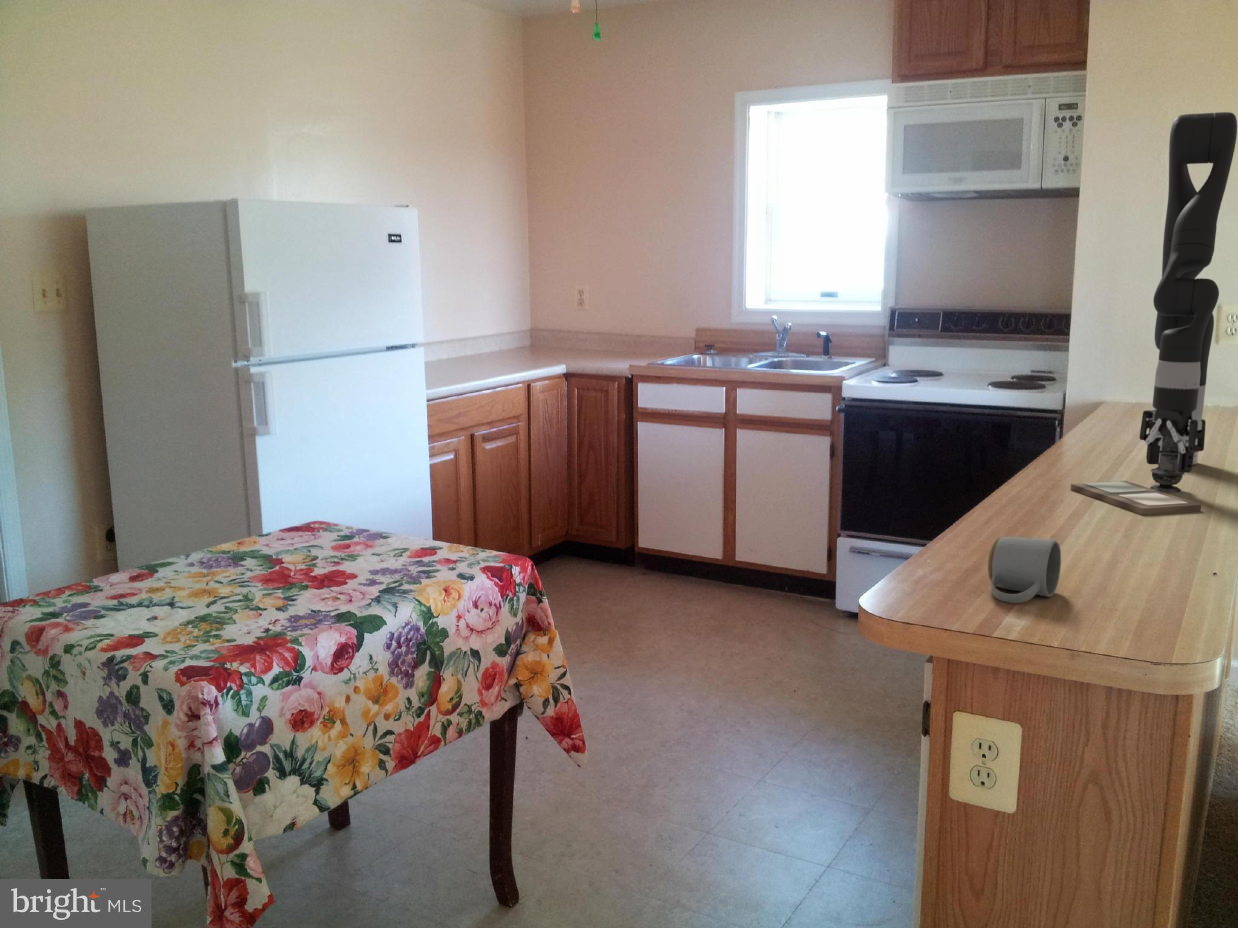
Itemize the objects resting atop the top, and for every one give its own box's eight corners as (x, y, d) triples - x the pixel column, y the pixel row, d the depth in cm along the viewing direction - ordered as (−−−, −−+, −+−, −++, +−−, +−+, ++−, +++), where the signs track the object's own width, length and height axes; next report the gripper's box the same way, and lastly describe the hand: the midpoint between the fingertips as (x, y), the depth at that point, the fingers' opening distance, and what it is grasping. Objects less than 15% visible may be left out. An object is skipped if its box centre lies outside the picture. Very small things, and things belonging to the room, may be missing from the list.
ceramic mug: (999, 577, 147) (1003, 526, 145) (1060, 588, 142) (1064, 535, 141) (976, 599, 139) (979, 544, 137) (1039, 611, 134) (1043, 555, 132)
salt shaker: (1187, 493, 196) (1193, 431, 194) (1153, 492, 197) (1160, 430, 195) (1177, 486, 202) (1183, 426, 199) (1144, 485, 203) (1150, 425, 200)
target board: (1070, 489, 200) (1071, 482, 199) (1124, 486, 202) (1125, 479, 202) (1141, 515, 181) (1142, 507, 180) (1200, 511, 183) (1201, 503, 183)
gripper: (1222, 388, 189) (1212, 474, 192) (1166, 380, 203) (1158, 460, 206) (1187, 389, 188) (1178, 476, 191) (1133, 381, 201) (1125, 462, 204)
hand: (1167, 468), depth 198 cm, fingers open, 8 cm apart
